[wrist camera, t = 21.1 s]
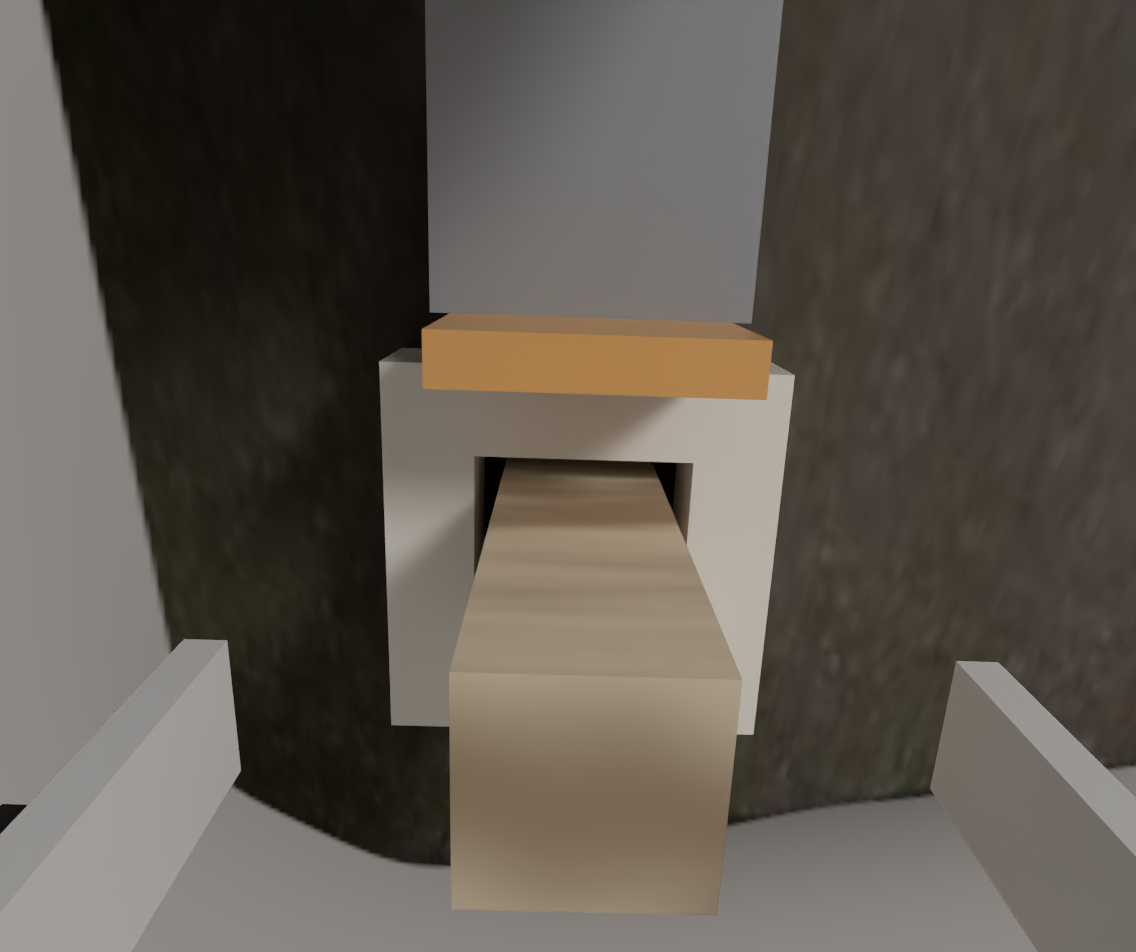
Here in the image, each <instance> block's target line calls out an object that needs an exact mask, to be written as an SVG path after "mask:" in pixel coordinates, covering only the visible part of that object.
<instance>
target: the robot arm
mask: <svg viewBox="0 0 1136 952" xmlns="http://www.w3.org/2000/svg"><path fill="white" fill-rule="evenodd" d="M240 771H241V765H240V756H239V746H238V737H237V728H236V718H235V709H234V699H233V690H232V681H231V671H230V662H229V652H228V643H227V640H195V639H184V640H183V641H182V642H181V643H180V644H179V645H178V646H177V647H176V648H175V649H174V650H173V651H172V653H171V654H170V655H169V656H168V657H167V658H166V659H165V660H164V661H163V662H162V663H161V664H160V665H159V666H158V667H157V669H156V670H155V671H154V672H153V673H152V674H151V675H150V676H149V677H148V678H147V679H146V680H145V681H144V682H143V683H142V684H141V686H140V687H139V688H138V689H137V690H136V691H135V692H134V693H133V694H132V695H131V696H130V697H129V698H128V699H127V700H126V701H125V703H123V704H122V706H121V707H120V708H119V709H118V710H117V711H116V712H115V713H114V714H113V715H112V716H111V717H110V718H109V719H108V720H107V722H106V723H105V724H104V725H103V726H102V727H101V728H100V729H99V730H98V731H97V732H96V733H95V734H94V735H93V737H91V738H90V739H89V741H88V742H87V743H86V744H85V745H84V746H83V747H82V748H81V749H80V750H79V751H78V752H77V753H76V754H75V755H74V757H72V759H71V760H70V761H69V762H68V763H67V764H66V765H65V766H64V767H63V768H62V769H61V770H60V771H59V772H58V773H57V774H56V775H55V777H54V778H53V779H52V780H51V781H50V782H49V783H48V784H47V785H46V786H45V787H44V788H43V789H42V790H41V791H40V792H39V794H38V795H37V796H36V797H35V798H34V799H33V800H32V801H31V802H30V803H29V804H28V805H12V804H2V805H1V806H0V952H131V951H132V950H133V948H134V947H135V945H136V943H137V941H138V940H139V938H140V936H141V935H142V933H143V932H144V930H145V928H146V927H147V925H148V923H149V922H150V920H151V918H152V917H153V915H154V914H155V912H156V910H157V909H158V907H159V905H160V904H161V902H162V900H163V899H164V897H165V895H166V894H167V892H168V890H169V889H170V887H171V885H172V883H173V882H174V880H175V879H176V877H177V876H178V874H179V872H180V871H181V869H182V867H183V865H184V864H185V862H186V861H187V859H188V857H189V856H190V854H191V852H192V850H193V849H194V847H195V846H196V844H197V842H198V841H199V839H200V838H201V836H202V834H203V833H204V831H205V829H206V828H207V826H208V824H209V823H210V821H211V819H212V818H213V816H214V814H215V813H216V811H217V809H218V808H219V806H220V804H221V803H222V801H223V799H224V798H225V796H226V794H227V793H228V791H229V790H230V788H231V786H232V785H233V783H234V781H235V780H236V778H237V776H238V775H239V773H240ZM930 789H931V791H932V792H933V794H934V795H935V797H936V798H937V800H938V801H939V803H940V804H941V806H942V807H943V809H944V810H945V812H946V813H947V815H948V816H949V818H950V819H951V821H952V822H953V824H954V825H955V827H956V828H957V830H958V831H959V833H960V834H961V836H962V838H963V839H964V840H965V842H966V844H967V845H968V847H969V848H970V850H971V851H972V853H973V854H974V856H975V857H976V859H977V860H978V862H979V863H980V865H981V866H982V868H983V869H984V871H985V872H986V874H987V875H988V877H989V878H990V880H991V881H992V883H993V884H994V886H995V888H996V889H997V891H998V892H999V894H1000V895H1001V896H1002V898H1003V900H1004V901H1005V903H1006V904H1007V906H1008V907H1009V909H1010V910H1011V912H1012V913H1013V915H1014V916H1015V918H1016V919H1017V921H1018V922H1019V924H1020V925H1021V927H1022V928H1023V930H1024V931H1025V933H1026V935H1027V936H1028V937H1029V939H1030V941H1031V942H1032V944H1033V945H1034V947H1035V948H1036V950H1037V951H1038V952H1136V798H1135V797H1134V796H1133V795H1132V794H1131V793H1130V792H1129V791H1128V790H1127V789H1126V788H1125V787H1124V786H1123V785H1122V784H1121V783H1120V782H1119V781H1118V780H1117V779H1116V778H1115V777H1114V776H1113V775H1112V774H1111V773H1110V772H1109V771H1108V770H1107V769H1106V768H1105V767H1104V766H1103V765H1102V764H1101V763H1100V762H1099V761H1098V760H1097V759H1096V758H1095V757H1094V756H1093V755H1092V754H1091V753H1090V752H1089V751H1088V750H1087V749H1086V748H1085V747H1084V746H1083V745H1082V744H1081V743H1080V742H1079V741H1078V740H1077V739H1076V738H1074V737H1073V736H1072V735H1071V734H1070V733H1069V732H1068V731H1067V730H1066V729H1065V728H1064V727H1063V726H1062V725H1061V724H1060V723H1059V722H1058V721H1057V720H1056V719H1055V718H1054V717H1053V716H1052V715H1051V714H1050V713H1049V712H1048V711H1047V710H1046V709H1045V708H1044V707H1043V706H1042V705H1041V704H1040V703H1039V702H1038V701H1037V700H1036V699H1035V698H1034V697H1033V696H1032V695H1031V694H1030V693H1029V692H1028V691H1027V690H1026V689H1025V688H1024V687H1023V686H1022V685H1021V684H1020V683H1019V682H1018V681H1017V680H1016V679H1015V678H1014V677H1013V676H1012V675H1011V674H1010V673H1009V672H1008V671H1007V670H1006V669H1004V668H1003V667H1002V666H1001V665H1000V664H999V663H998V662H968V661H956V665H955V670H954V675H953V680H952V684H951V689H950V694H949V699H948V704H947V709H946V714H945V719H944V724H943V728H942V733H941V738H940V743H939V748H938V753H937V758H936V763H935V768H934V772H933V777H932V782H931V787H930Z"/></svg>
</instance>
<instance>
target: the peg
mask: <svg viewBox="0 0 1136 952" xmlns="http://www.w3.org/2000/svg"><path fill="white" fill-rule="evenodd" d="M742 681H743V680H742V677H741V675H740V673H739V670H738V668H737V665H736V663H735V661H734V658H733V656H732V653H731V651H730V649H729V646H728V644H727V641H726V639H725V637H724V634H723V632H722V629H721V627H720V625H719V622H718V620H717V617H716V615H715V613H714V610H713V608H712V605H711V603H710V601H709V598H708V596H707V593H706V591H705V589H704V586H703V584H702V581H701V579H700V577H699V574H698V572H697V569H696V567H695V564H694V562H693V560H692V557H691V555H690V552H689V550H688V548H687V545H686V543H685V540H684V538H683V536H682V533H681V531H680V528H679V526H678V524H677V521H676V519H675V516H674V514H673V512H672V509H671V507H670V504H669V502H668V500H667V497H666V495H665V492H664V490H663V488H662V485H661V483H660V480H659V478H658V476H657V473H656V471H655V468H654V466H653V464H652V462H641V461H609V460H577V459H546V458H514V457H507V460H506V464H505V467H504V471H503V475H502V478H501V482H500V486H499V489H498V493H497V497H496V501H495V504H494V508H493V512H492V515H491V519H490V523H489V526H488V530H487V534H486V537H485V541H484V545H483V548H482V552H481V556H480V559H479V563H478V567H477V571H476V574H475V578H474V582H473V585H472V589H471V593H470V596H469V600H468V604H467V607H466V611H465V615H464V618H463V622H462V626H461V629H460V633H459V637H458V641H457V644H456V648H455V652H454V655H453V659H452V663H451V666H450V670H449V728H450V829H451V909H461V910H462V909H463V910H464V909H465V910H505V911H549V912H550V911H551V912H594V913H637V914H682V915H685V914H686V915H717V911H718V902H719V891H720V884H721V874H722V865H723V855H724V847H725V837H726V828H727V819H728V810H729V801H730V791H731V782H732V773H733V764H734V754H735V745H736V736H737V727H738V718H739V708H740V699H741V690H742Z"/></svg>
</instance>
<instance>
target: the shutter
mask: <svg viewBox="0 0 1136 952" xmlns="http://www.w3.org/2000/svg"><path fill="white" fill-rule="evenodd" d="M782 9H783V0H425V35H426V101H427V166H428V232H429V297H430V312H431V313H449V314H448V315H446V316H444V317H442V318H440V319H439V320H437V321H435V322H433V323H431V324H430V325H428V326H426V327H424V328H422V376H423V389H441V390H472V391H502V392H533V393H563V394H594V395H624V396H655V397H686V398H716V399H747V400H767V392H768V383H769V374H770V364H771V355H772V346H773V341H772V340H770V339H768V338H765V337H763V336H761V335H758V334H756V333H754V332H752V331H749V330H747V329H745V328H742V327H740V326H738V325H736V324H733V323H752V314H753V304H754V294H755V284H756V273H757V263H758V253H759V243H760V233H761V222H762V212H763V202H764V192H765V182H766V172H767V161H768V151H769V141H770V131H771V121H772V111H773V100H774V90H775V80H776V70H777V60H778V49H779V39H780V29H781V19H782Z"/></svg>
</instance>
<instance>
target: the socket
mask: <svg viewBox="0 0 1136 952" xmlns="http://www.w3.org/2000/svg"><path fill="white" fill-rule="evenodd" d="M379 372H380V402H381V432H382V461H383V491H384V521H385V551H386V580H387V610H388V640H389V670H390V699H391V725H407V726H444V727H449V670H450V666H451V663H452V659H453V655H454V652H455V648H456V644H457V641H458V637H459V633H460V629H461V626H462V622H463V618H464V615H465V611H466V607H467V604H468V600H469V596H470V593H471V589H472V585H473V582H474V578H475V574H476V571H477V567H478V563H479V559H480V556H481V552H482V548H483V545H484V514H485V457H514V458H546V459H577V460H609V461H641V462H673V463H676V472H675V485H674V498H673V511H672V512H673V514H674V516H675V519H676V521H677V524H678V526H679V528H680V531H681V533H682V536H683V538H684V540H685V543H686V545H687V548H688V550H689V552H690V555H691V557H692V560H693V562H694V564H695V567H696V569H697V572H698V574H699V577H700V579H701V581H702V584H703V586H704V589H705V591H706V593H707V596H708V598H709V601H710V603H711V605H712V608H713V610H714V613H715V615H716V617H717V620H718V622H719V625H720V627H721V629H722V632H723V634H724V637H725V639H726V641H727V644H728V646H729V649H730V651H731V653H732V656H733V658H734V661H735V663H736V665H737V668H738V670H739V673H740V675H741V677H742V680H743V681H742V690H741V699H740V708H739V718H738V727H737V734H746V735H753V733H754V724H755V715H756V707H757V698H758V689H759V681H760V672H761V663H762V655H763V646H764V638H765V629H766V620H767V612H768V603H769V594H770V586H771V577H772V568H773V560H774V551H775V542H776V534H777V525H778V516H779V508H780V499H781V490H782V482H783V473H784V465H785V456H786V447H787V439H788V430H789V421H790V413H791V404H792V395H793V387H794V378H795V375H793V374H792V373H790V372H788V371H786V370H784V369H782V368H781V367H779V366H777V365H775V364H773V363H771V364H770V374H769V383H768V392H767V400H747V399H716V398H686V397H655V396H624V395H594V394H563V393H533V392H502V391H472V390H441V389H423V376H422V348H401V349H399V350H397V351H396V352H394V353H392V354H391V355H389V356H387V357H386V358H384V359H382V360H381V361H379Z"/></svg>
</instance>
